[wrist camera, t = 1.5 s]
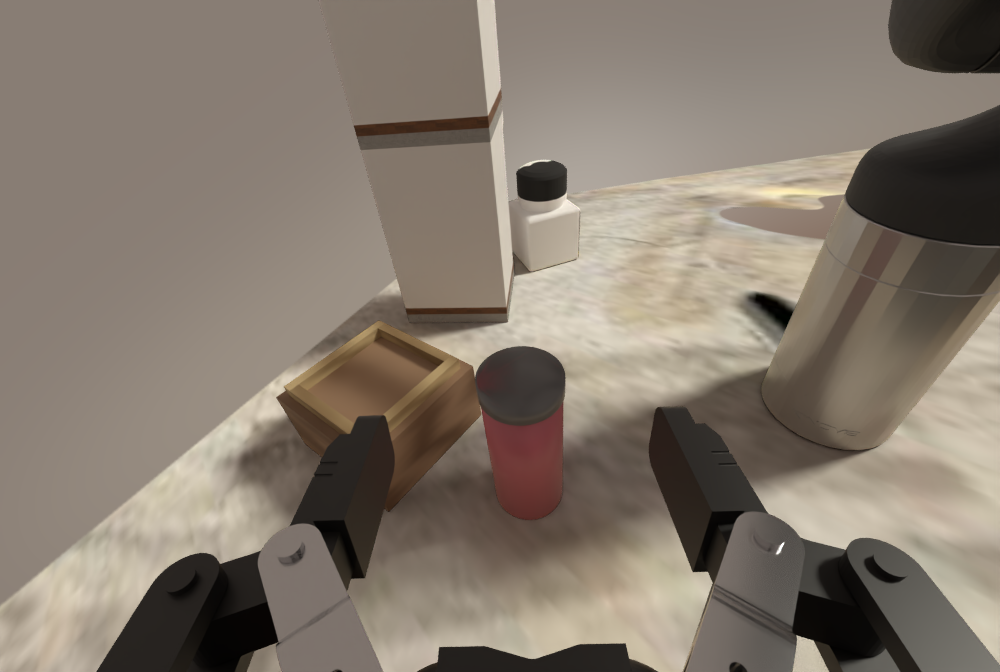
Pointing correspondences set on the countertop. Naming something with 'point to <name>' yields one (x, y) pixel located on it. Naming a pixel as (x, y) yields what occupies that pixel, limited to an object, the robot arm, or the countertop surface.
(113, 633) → the countertop surface
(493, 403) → the red lidded canister
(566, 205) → the medicine bottle
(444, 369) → the wooden box
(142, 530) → the countertop surface
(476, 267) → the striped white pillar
